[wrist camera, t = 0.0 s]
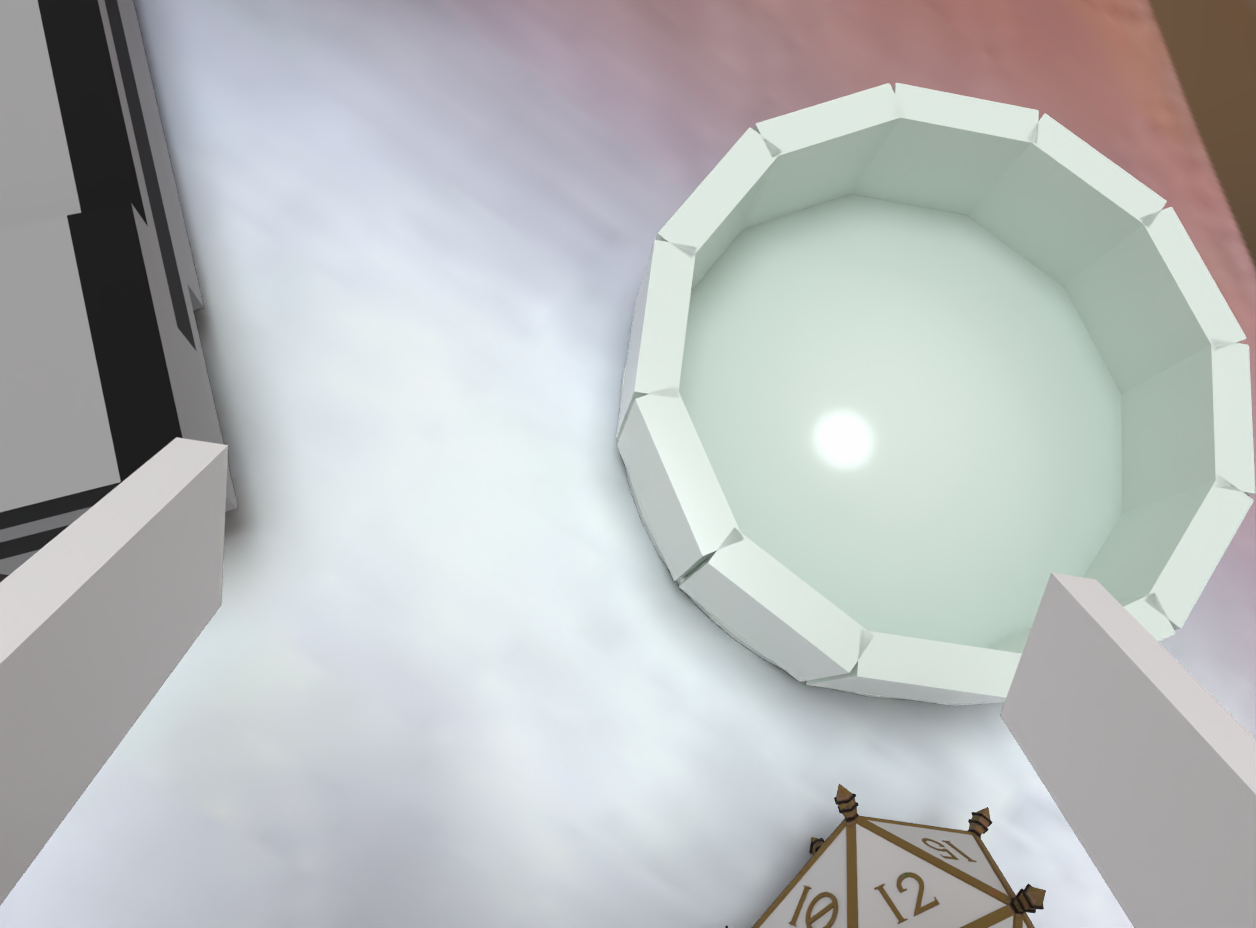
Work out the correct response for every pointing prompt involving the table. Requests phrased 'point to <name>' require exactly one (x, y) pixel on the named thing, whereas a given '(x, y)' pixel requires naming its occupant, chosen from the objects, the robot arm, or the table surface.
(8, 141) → the game console
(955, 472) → the bowl
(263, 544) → the table surface
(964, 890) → the game die
